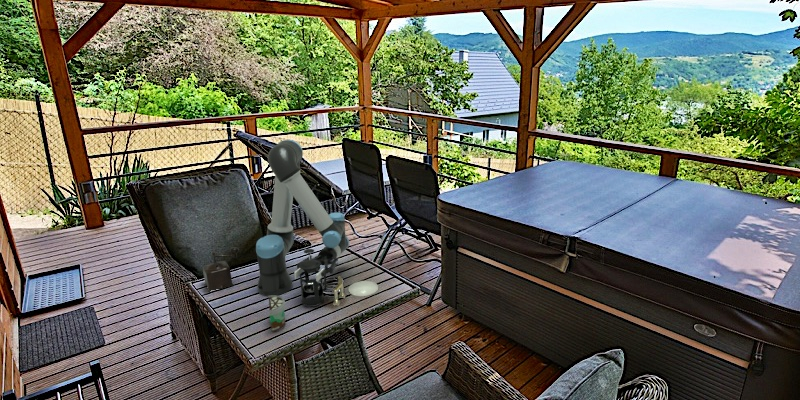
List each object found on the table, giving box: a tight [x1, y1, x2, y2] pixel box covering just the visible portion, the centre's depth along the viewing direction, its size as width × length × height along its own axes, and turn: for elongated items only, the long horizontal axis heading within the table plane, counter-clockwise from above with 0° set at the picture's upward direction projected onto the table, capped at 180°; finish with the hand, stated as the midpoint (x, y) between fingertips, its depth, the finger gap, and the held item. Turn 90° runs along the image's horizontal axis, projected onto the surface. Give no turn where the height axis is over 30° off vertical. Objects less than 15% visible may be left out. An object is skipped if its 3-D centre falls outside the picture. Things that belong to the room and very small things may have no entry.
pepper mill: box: [202, 246, 240, 291], centre depth 205 cm, size 16×11×18 cm
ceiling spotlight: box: [332, 275, 346, 307], centre depth 191 cm, size 4×13×7 cm, turn 179°
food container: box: [267, 295, 287, 333], centre depth 173 cm, size 12×6×10 cm, turn 17°
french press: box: [298, 248, 328, 307], centre depth 185 cm, size 12×9×23 cm
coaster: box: [348, 280, 379, 298], centre depth 198 cm, size 13×13×1 cm
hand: (305, 277), depth 181 cm, fingers closed on french press, 9 cm apart
